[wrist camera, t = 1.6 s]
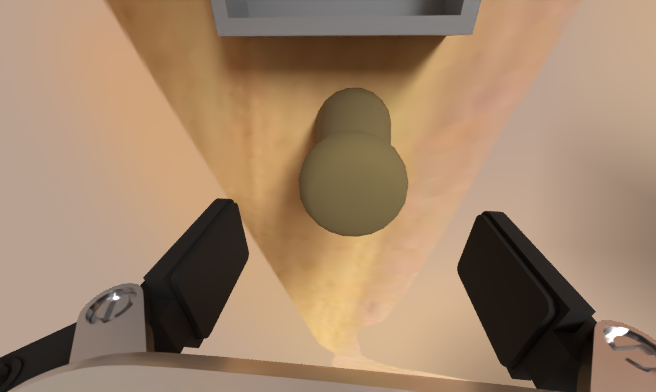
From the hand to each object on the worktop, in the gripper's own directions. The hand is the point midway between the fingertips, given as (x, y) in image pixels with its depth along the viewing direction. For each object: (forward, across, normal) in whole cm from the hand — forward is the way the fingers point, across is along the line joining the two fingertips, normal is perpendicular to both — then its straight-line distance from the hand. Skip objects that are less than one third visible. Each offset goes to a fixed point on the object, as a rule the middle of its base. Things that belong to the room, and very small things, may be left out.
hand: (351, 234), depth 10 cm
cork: (+12, 0, -1) cm, 12 cm away
